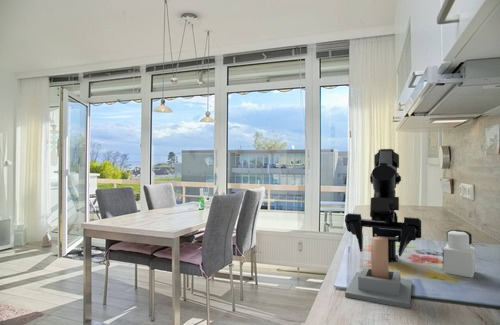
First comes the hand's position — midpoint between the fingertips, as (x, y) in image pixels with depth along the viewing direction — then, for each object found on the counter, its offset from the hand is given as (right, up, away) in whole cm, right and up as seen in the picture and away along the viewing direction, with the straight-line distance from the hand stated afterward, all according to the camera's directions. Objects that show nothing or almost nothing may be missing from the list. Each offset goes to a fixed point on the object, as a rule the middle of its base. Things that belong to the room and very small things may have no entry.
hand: (379, 253), depth 82 cm
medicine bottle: (+28, -9, +12) cm, 32 cm away
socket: (0, -9, 0) cm, 9 cm away
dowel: (0, -8, 0) cm, 8 cm away
